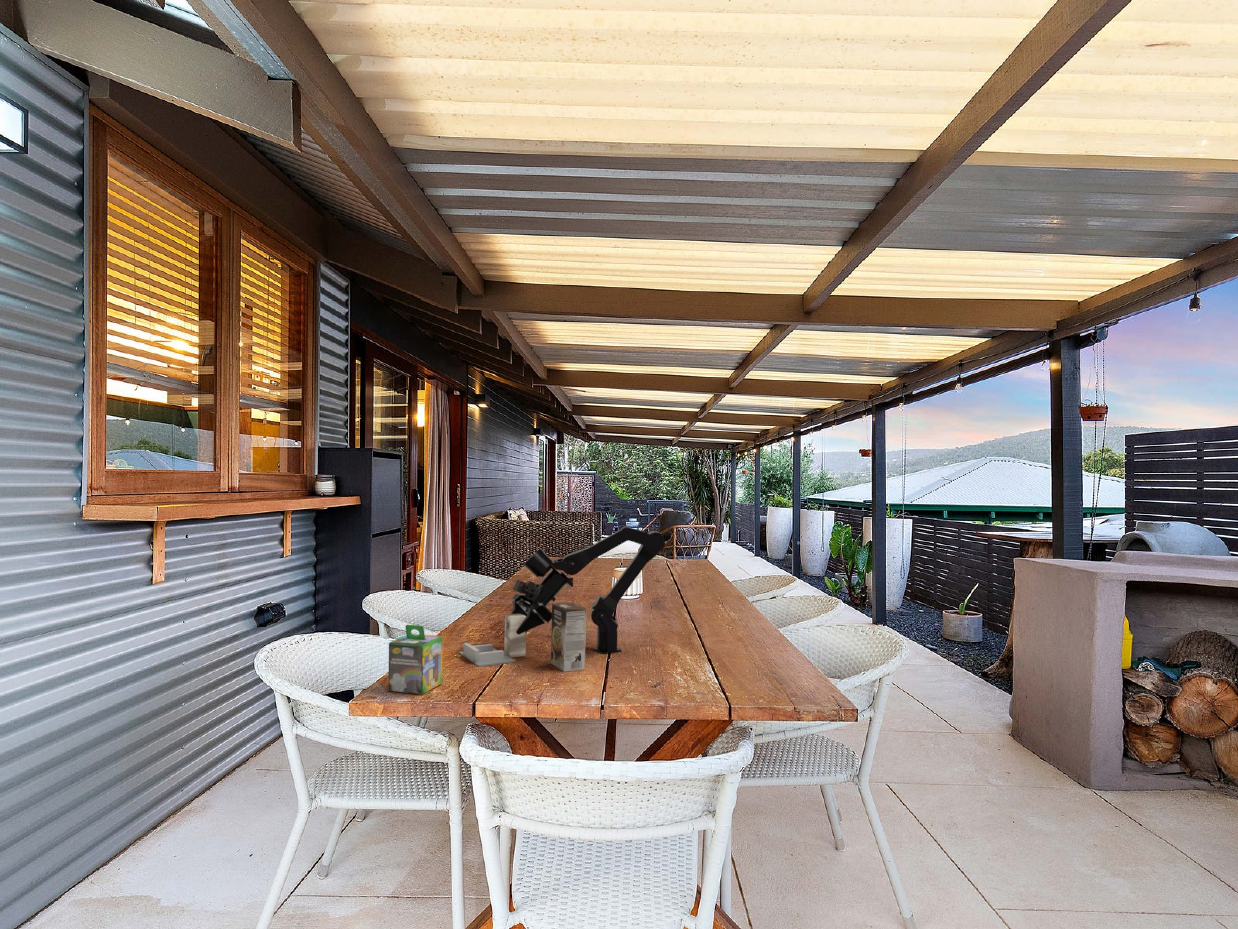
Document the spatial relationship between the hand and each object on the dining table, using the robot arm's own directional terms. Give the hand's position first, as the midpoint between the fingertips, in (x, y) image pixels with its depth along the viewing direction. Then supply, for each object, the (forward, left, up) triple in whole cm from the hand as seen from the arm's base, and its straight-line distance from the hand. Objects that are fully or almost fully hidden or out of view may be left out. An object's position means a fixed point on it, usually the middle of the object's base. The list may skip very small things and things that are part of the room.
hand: (511, 630), depth 190 cm
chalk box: (-18, +31, -7) cm, 37 cm away
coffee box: (-18, -9, -7) cm, 21 cm away
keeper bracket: (0, +7, -7) cm, 10 cm away
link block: (0, -1, -7) cm, 7 cm away
